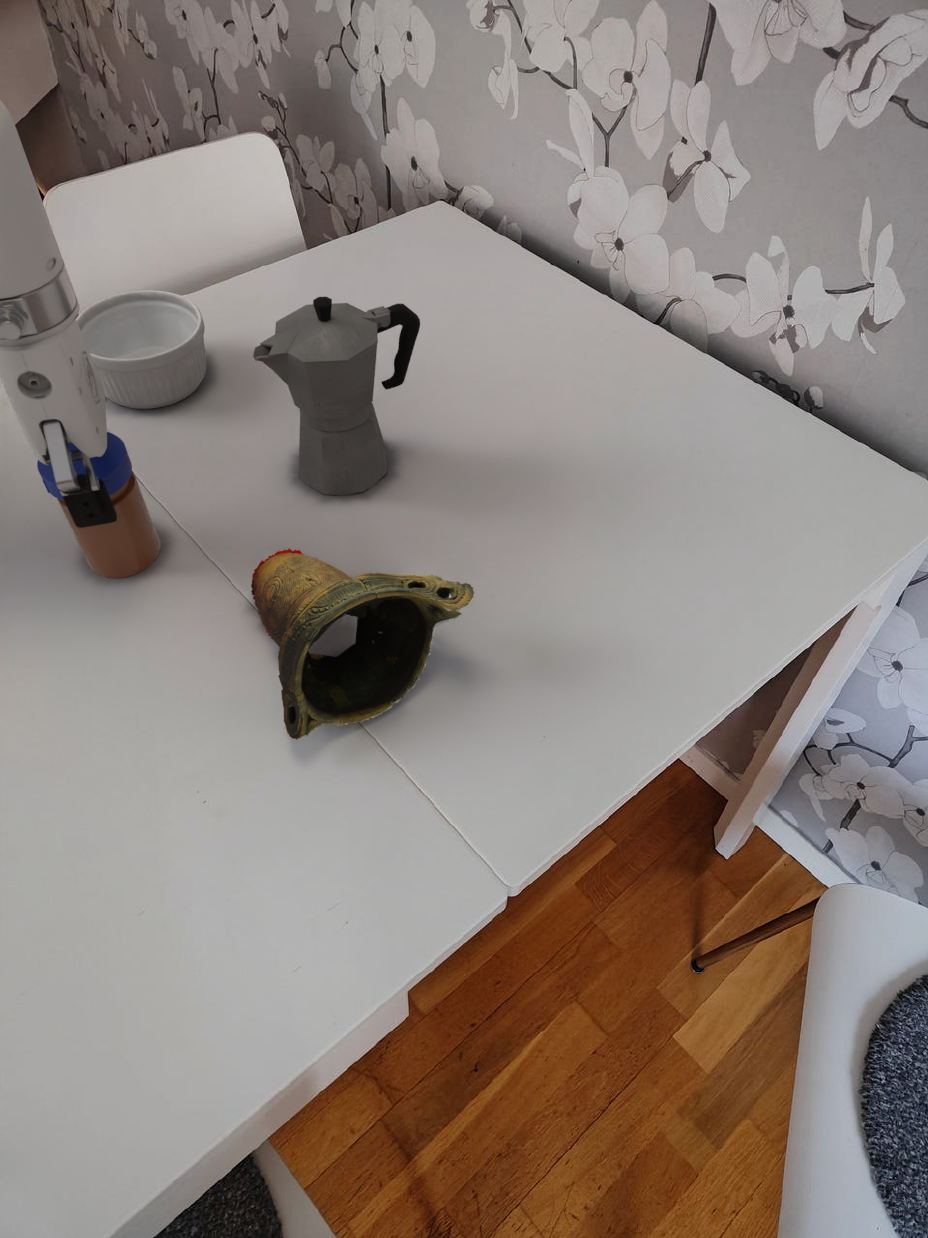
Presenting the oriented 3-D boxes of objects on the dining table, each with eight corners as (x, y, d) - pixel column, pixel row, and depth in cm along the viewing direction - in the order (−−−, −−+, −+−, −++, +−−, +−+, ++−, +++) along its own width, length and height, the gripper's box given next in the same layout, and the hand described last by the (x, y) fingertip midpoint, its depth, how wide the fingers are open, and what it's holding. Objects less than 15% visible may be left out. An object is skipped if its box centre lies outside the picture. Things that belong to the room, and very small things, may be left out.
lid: (68, 516, 68) (60, 498, 67) (29, 472, 71) (21, 454, 70) (148, 477, 71) (141, 459, 70) (107, 436, 74) (100, 418, 73)
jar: (83, 582, 76) (43, 501, 69) (91, 531, 80) (54, 449, 73) (158, 573, 77) (126, 492, 69) (162, 523, 81) (132, 441, 73)
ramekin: (239, 363, 97) (227, 306, 91) (166, 431, 89) (148, 373, 84) (143, 334, 100) (125, 278, 95) (65, 397, 93) (41, 340, 87)
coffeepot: (297, 516, 81) (265, 348, 68) (263, 457, 87) (227, 291, 73) (444, 466, 86) (442, 300, 72) (403, 414, 91) (394, 249, 77)
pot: (329, 464, 73) (444, 537, 59) (395, 553, 80) (510, 635, 67) (171, 605, 70) (255, 713, 57) (255, 683, 77) (346, 795, 64)
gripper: (73, 360, 54) (148, 556, 68) (72, 228, 65) (137, 421, 79) (-55, 378, 53) (48, 575, 67) (-36, 241, 64) (50, 435, 77)
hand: (96, 490), depth 73 cm, fingers closed on lid, 6 cm apart
